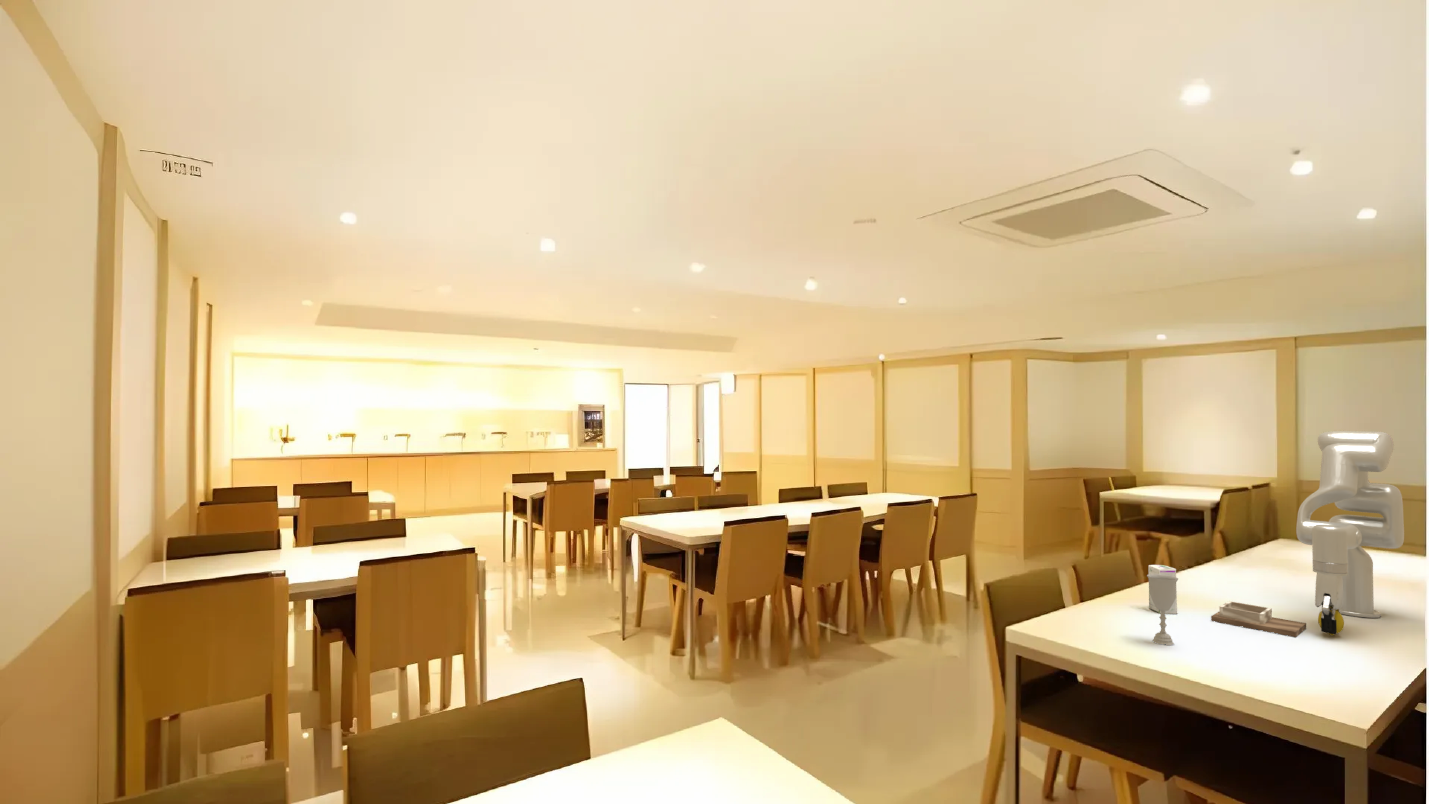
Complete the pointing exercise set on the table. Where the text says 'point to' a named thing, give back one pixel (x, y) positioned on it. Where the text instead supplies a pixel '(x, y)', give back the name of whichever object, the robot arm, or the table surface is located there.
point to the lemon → (1338, 621)
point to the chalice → (1162, 601)
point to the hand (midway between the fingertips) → (1331, 630)
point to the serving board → (1256, 619)
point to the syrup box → (1162, 571)
